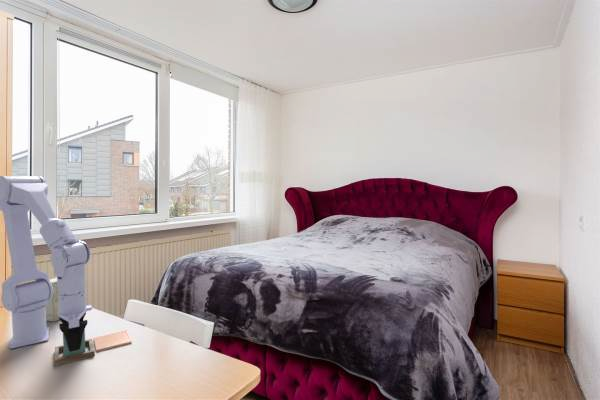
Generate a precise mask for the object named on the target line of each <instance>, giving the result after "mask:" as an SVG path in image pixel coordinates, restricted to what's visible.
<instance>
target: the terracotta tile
mask: <svg viewBox="0 0 600 400" xmlns="http://www.w3.org/2000/svg"><path fill="white" fill-rule="evenodd" d="M93 344H94V349H95V351H96V353H98V352H102V351H106V350H111V349H113V348H117V347H122V346H127V345H130V344H132V339H131V337H130V335H129V333H128V331H127V330H123V331H118V332H114V333H109V334H104V335H101V336H97V337H93Z"/></svg>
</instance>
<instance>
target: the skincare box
mask: <svg viewBox="0 0 600 400" xmlns="http://www.w3.org/2000/svg"><path fill="white" fill-rule="evenodd" d="M49 280H50V282H51V284H52V286H53V295H52V297H51V299H50V300H48V304H46V322H57V321H60V319H59V316H58V311H59V308H58V286H57V277H54V278H49Z"/></svg>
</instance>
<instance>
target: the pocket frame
mask: <svg viewBox="0 0 600 400" xmlns="http://www.w3.org/2000/svg"><path fill="white" fill-rule="evenodd" d="M87 346H88V348H89V350H88V351H86V352H83V353H79V354H75V355H71V356H67V357H64V356H63V357H60V353H63V352H64V347H63V345H59V346H55V347H54V367H56V366H57V367H58V366H60V365H64V364H68V363H72V362H77V361H80V360H83V359H84V360H85V359H88V358H91V357H95V356H96V355H95V351H96V350H95V345H94V340H93V338H89V339H85V347H87Z"/></svg>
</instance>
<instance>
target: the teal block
mask: <svg viewBox="0 0 600 400" xmlns="http://www.w3.org/2000/svg"><path fill="white" fill-rule="evenodd" d="M85 331H86V328H85V329H84V332H83V336H82V342H81V347H80V349H79V350H75V351H71V352H70V351H69V349H68V345H67V341H66V338H65V336H64V334H63V333H62V341H63V342H62V343H63V345H62V346H63V347H64V351H63V357H67V356H71V355H75V354H79V353H83V352H87V351H86V349H87V348H86V346H85V340H86V332H85Z"/></svg>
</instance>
